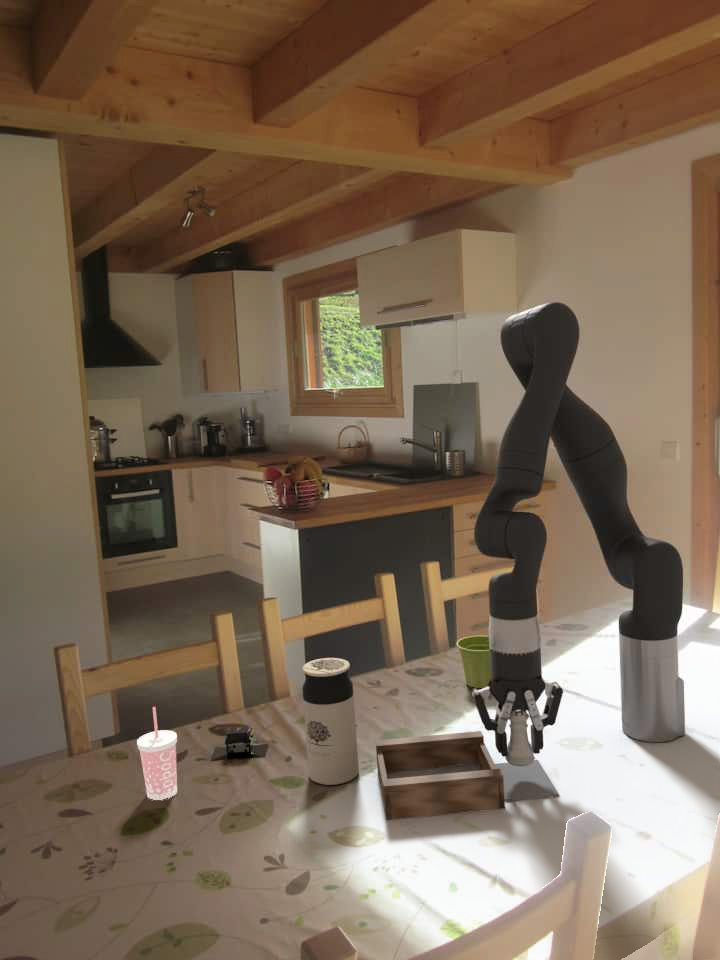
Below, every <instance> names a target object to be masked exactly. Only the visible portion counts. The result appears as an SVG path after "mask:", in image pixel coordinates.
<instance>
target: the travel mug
mask: <svg viewBox="0 0 720 960" xmlns="http://www.w3.org/2000/svg"><path fill="white" fill-rule="evenodd" d="M350 667H351V664H350V662H349V661H348V660H346V659H343V658H338V657H325V658H317V659H314V660H310V661H309V662H306V663H305V664H304V665H302V668H301V669H302V672H303V673H304V676H305V680H304V683H303V685H302V688H301V689H302V700H303V701H302V702H303V715H304V725H305V728H304V729H305V738H306V742H305V743H306V753H307V754H306V755H307V764H308V766H307V767H308V776H309V779H310V780H311V781H313V782H315V783H317V784H321V785H324V786H325V785H326V786H327V785H328V786H334V785H341V784H345V783H347V782H349V781H352V780H353V779H355V778H356V777H357V775H358V774H359V772H360V770H359V757H358V756H359V753H358V744H357V743H358V740H357V739H358V737H357V728H356V726H357V725H356V714H355V712H356V710H355V698H354V697H355V695H354V686H353V685H354V684H353V680H352V679H351V678H350V676H349V669H350Z"/></svg>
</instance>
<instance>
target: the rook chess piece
mask: <svg viewBox="0 0 720 960" xmlns="http://www.w3.org/2000/svg"><path fill="white" fill-rule="evenodd" d="M528 719H530V716H529V713H528V711H527V710H525V711H524V710H517V711H512V712H511V713H510V717H509V720H508V721H510V723H509V725H508V727H509V728H510V733H509V734H510V736H509V742H507V754H508V755H507V756H504V758H505V760H506V761H507V762H506V763H510V764H511V765H514V766H528V765H530V764H532V762H533V761H534V760H536V757H535V753H534V750H533V748H532V747H531V742H530V741H529V736H528V731H527V729H528V727H529V724H527V720H528Z"/></svg>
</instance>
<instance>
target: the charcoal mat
mask: <svg viewBox="0 0 720 960" xmlns="http://www.w3.org/2000/svg"><path fill="white" fill-rule="evenodd" d="M494 764H495V766H496V768H497V769H500V770H501V772H502V774H503V780H504V800H505V802H510V801H513V802H514V801H523V800H533V799H534V800H535V799H541V798H542V799H545V798H552V797H553V798H554V797H560V793H559V791H558V790H557V788H556V786H555V785H554V784H553V782H552V780H551V779H550V777H549V776H548V773H547V772H546V771H545V768H544V767H543V766H542V764H541V763H540V760H538V759H534V761H533V762H532V764H530V765H528V766H514V765H511V764H510V763H508V762H499V763H494Z"/></svg>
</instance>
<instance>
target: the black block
mask: <svg viewBox="0 0 720 960" xmlns="http://www.w3.org/2000/svg"><path fill="white" fill-rule="evenodd" d="M253 738H254V735H253V731H252V730H251V726H250V725H242V726H240V728H239V726H229V728H228V729H227V732H226V737H225V741H224V745H221V746H220V745H219V746H215V748H214V750H213V753H212V754H211V757H210V760H209V761H210V762H214V761H215V762H217V761H218V762H219V761H231V760H245V759H246V760H247V759H261V758H266V756H267V751H268V746H269V743H267V742H266V743H254V741H253V740H254V739H253Z"/></svg>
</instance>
